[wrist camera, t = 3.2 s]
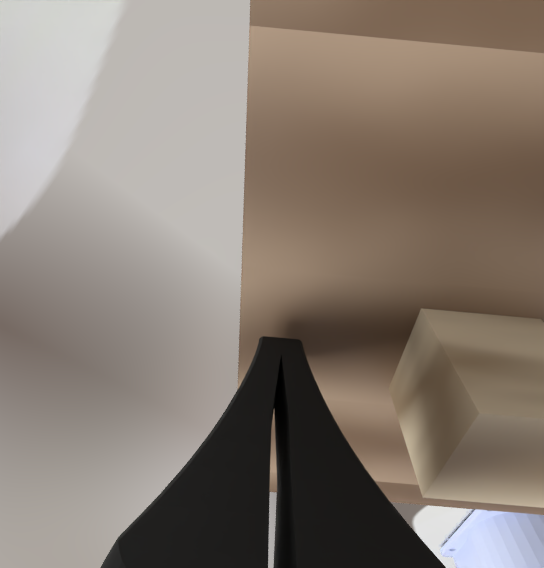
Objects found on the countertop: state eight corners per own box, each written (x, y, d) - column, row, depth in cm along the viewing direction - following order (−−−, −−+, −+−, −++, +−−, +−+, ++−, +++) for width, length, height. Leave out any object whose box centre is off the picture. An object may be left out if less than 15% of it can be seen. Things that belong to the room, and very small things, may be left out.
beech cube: (488, 397, 13) (556, 509, 10) (388, 388, 13) (422, 497, 10) (540, 319, 11) (651, 428, 8) (421, 308, 11) (479, 413, 8)
